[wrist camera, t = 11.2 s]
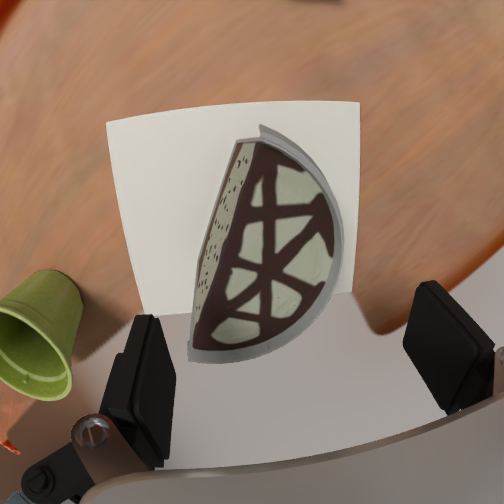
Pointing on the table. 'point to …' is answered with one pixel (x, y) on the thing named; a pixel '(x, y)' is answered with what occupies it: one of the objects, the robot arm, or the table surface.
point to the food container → (265, 252)
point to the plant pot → (40, 335)
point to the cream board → (215, 182)
